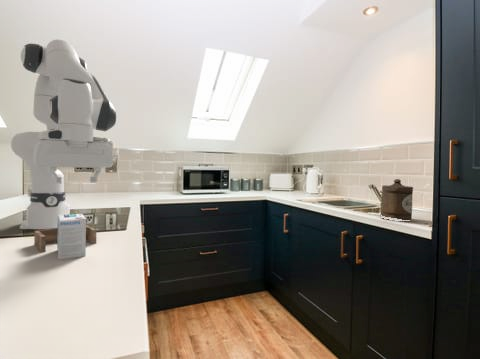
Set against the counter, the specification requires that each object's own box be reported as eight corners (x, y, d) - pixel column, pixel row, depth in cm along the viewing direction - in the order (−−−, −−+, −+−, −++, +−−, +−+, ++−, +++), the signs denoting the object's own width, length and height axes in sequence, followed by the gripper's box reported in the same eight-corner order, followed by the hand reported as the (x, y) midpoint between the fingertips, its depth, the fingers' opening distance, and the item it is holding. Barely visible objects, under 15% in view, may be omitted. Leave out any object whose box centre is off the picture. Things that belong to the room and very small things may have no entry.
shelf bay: (34, 244, 88) (34, 230, 88) (86, 237, 99) (85, 224, 99) (41, 252, 81) (41, 237, 81) (96, 243, 92) (96, 229, 92)
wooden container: (411, 223, 141) (413, 179, 141) (379, 219, 149) (380, 178, 148) (411, 219, 154) (413, 179, 153) (381, 216, 162) (383, 178, 161)
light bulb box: (57, 250, 84) (56, 214, 83) (82, 247, 87) (82, 213, 87) (58, 260, 75) (58, 220, 74) (86, 256, 79) (86, 218, 78)
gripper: (108, 139, 91) (108, 181, 91) (31, 132, 76) (32, 183, 77) (116, 138, 86) (116, 182, 87) (36, 131, 72) (36, 184, 72)
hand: (76, 183), depth 82 cm, fingers open, 8 cm apart
